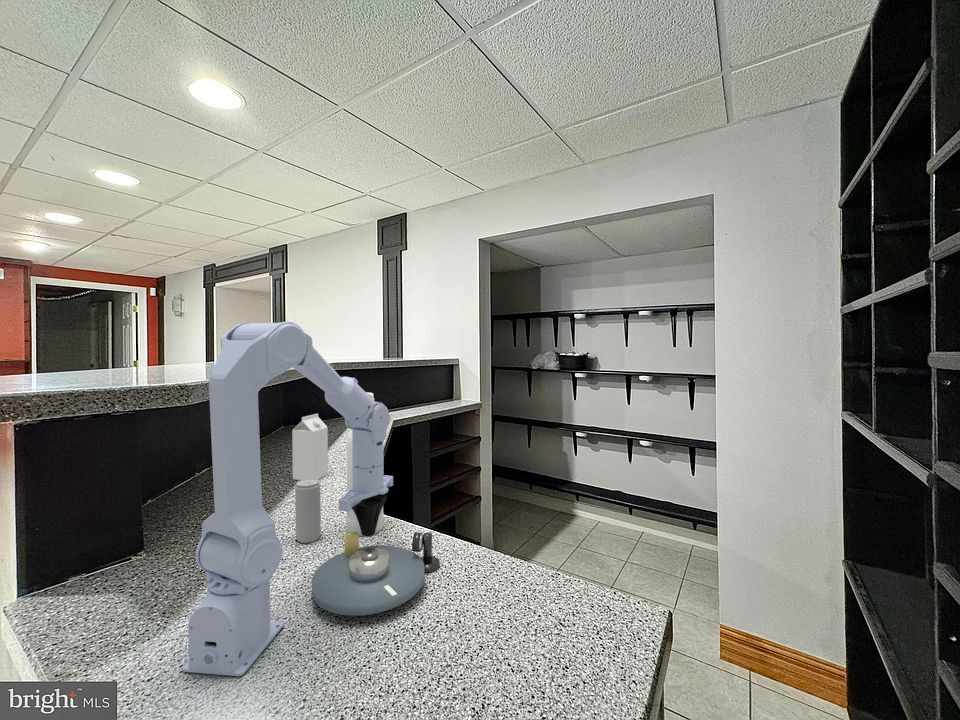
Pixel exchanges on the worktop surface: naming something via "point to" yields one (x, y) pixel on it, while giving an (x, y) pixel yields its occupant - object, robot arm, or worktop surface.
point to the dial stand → (425, 550)
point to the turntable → (364, 599)
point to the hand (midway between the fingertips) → (368, 534)
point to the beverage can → (308, 510)
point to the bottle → (351, 517)
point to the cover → (369, 565)
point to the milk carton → (310, 448)
